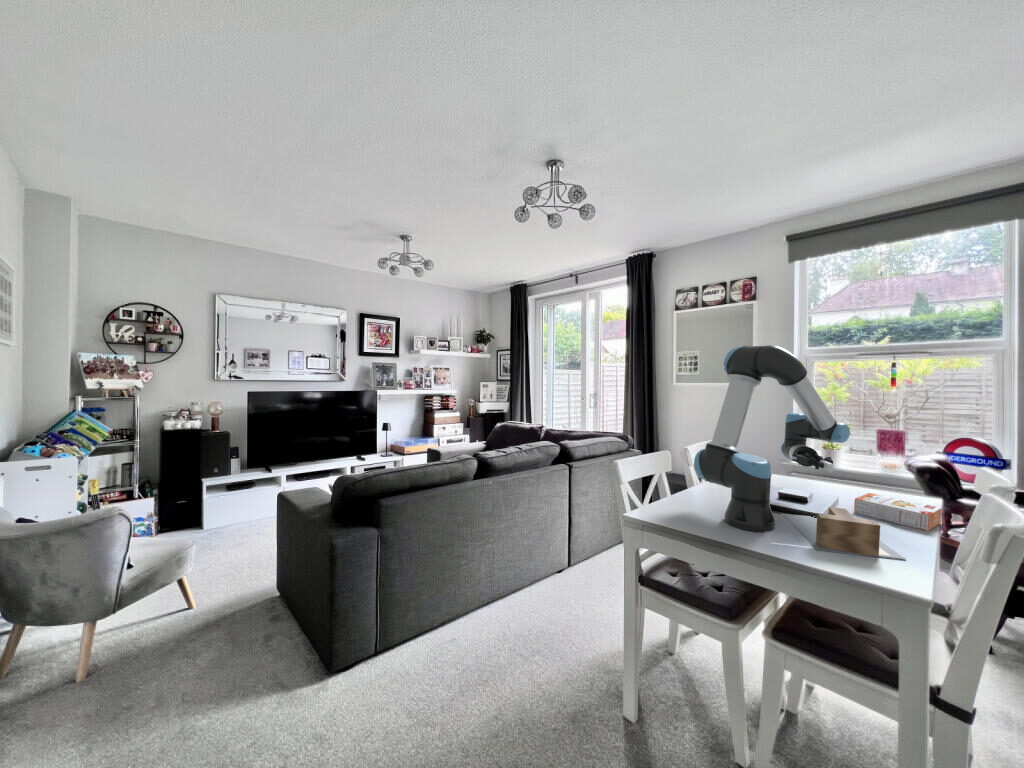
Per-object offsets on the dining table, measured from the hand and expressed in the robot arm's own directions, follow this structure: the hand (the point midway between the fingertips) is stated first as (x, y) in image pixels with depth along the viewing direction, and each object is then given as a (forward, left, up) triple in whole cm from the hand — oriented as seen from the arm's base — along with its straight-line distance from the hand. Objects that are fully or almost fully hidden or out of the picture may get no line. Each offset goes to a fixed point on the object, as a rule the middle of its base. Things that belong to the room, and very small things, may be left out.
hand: (830, 468), depth 144 cm
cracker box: (+24, +22, -17) cm, 37 cm away
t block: (-5, -14, -20) cm, 25 cm away
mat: (-1, -6, -20) cm, 21 cm away
